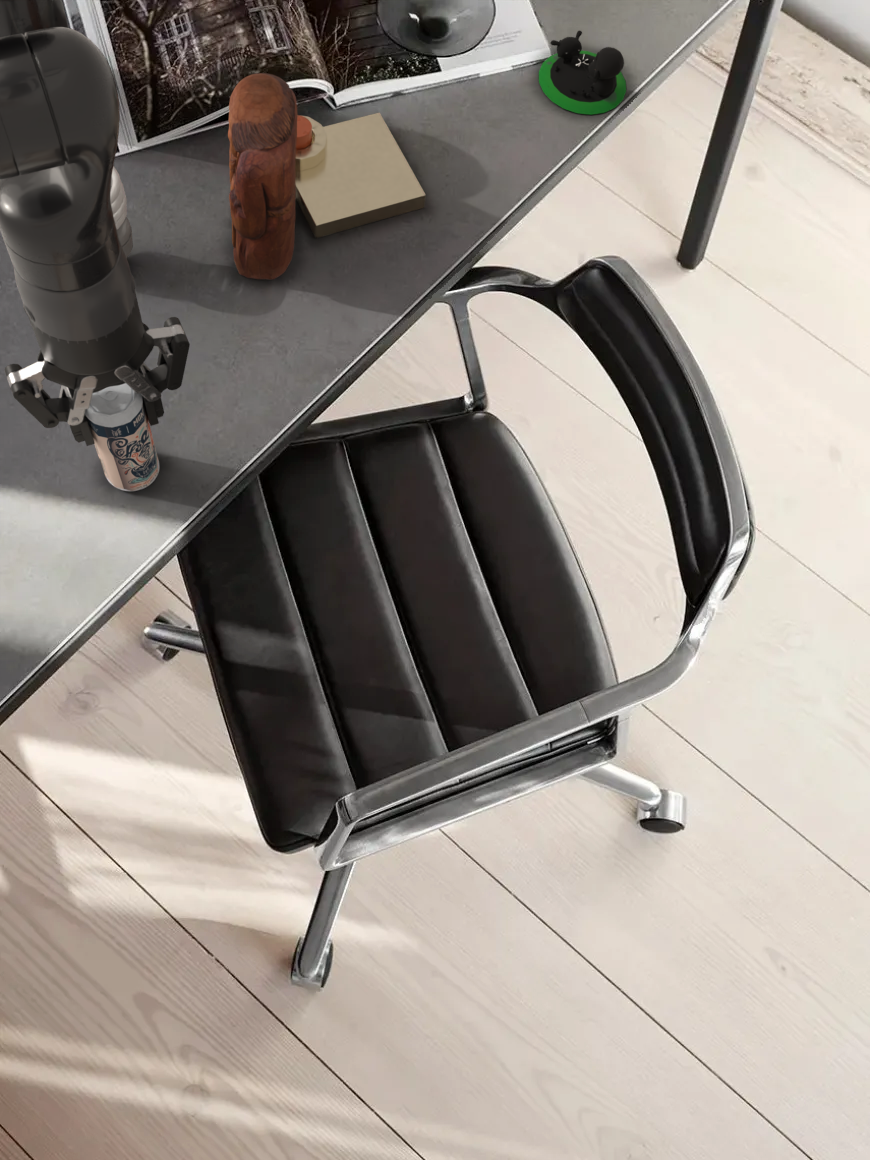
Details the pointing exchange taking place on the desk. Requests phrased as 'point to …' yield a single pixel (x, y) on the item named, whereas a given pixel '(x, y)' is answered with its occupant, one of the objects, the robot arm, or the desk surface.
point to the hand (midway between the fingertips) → (119, 426)
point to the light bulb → (120, 213)
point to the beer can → (123, 437)
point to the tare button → (303, 133)
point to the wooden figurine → (262, 174)
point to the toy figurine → (583, 77)
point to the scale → (353, 176)
